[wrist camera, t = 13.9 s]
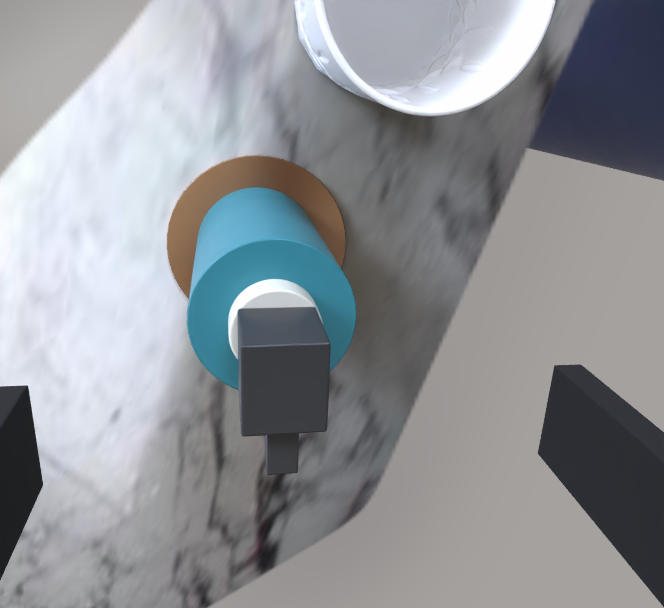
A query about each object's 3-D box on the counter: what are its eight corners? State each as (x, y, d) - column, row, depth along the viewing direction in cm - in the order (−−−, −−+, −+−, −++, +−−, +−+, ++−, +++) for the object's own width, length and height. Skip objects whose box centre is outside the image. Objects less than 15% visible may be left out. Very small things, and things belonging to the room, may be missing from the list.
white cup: (312, -118, 26) (364, -227, 16) (474, -45, 28) (601, -105, 18) (260, 71, 28) (280, 69, 19) (413, 125, 30) (500, 147, 21)
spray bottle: (194, 186, 29) (174, 278, 16) (317, 187, 30) (393, 275, 17) (199, 317, 31) (185, 492, 18) (313, 314, 32) (377, 477, 19)
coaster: (349, 156, 30) (350, 157, 30) (340, 324, 33) (341, 325, 33) (162, 153, 28) (161, 153, 28) (172, 329, 31) (171, 330, 31)
